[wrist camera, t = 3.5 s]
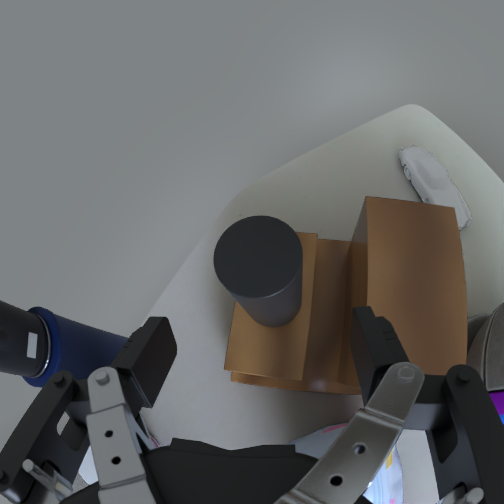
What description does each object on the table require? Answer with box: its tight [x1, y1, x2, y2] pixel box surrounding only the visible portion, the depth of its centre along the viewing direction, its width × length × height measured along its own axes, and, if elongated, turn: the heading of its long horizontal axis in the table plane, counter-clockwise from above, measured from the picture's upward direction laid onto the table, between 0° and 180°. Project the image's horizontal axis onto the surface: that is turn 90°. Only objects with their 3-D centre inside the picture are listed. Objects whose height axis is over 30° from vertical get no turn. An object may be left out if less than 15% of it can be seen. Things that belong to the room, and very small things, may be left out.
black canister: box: [214, 216, 303, 327], centre depth 18 cm, size 4×4×9 cm
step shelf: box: [224, 196, 467, 395], centre depth 20 cm, size 16×14×10 cm
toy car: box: [399, 145, 472, 230], centre depth 26 cm, size 5×12×4 cm, turn 16°
